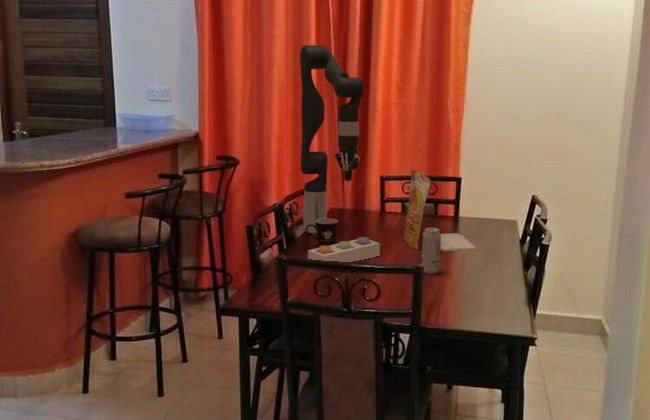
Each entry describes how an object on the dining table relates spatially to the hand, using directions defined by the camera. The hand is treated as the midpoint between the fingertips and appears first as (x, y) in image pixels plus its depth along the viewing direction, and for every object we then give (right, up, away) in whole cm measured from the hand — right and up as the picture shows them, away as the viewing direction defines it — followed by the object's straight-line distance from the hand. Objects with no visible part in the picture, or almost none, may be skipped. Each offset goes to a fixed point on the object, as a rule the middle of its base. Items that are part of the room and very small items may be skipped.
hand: (347, 180), depth 249 cm
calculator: (+41, -25, +17) cm, 51 cm away
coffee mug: (-9, -25, +13) cm, 29 cm away
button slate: (+6, -24, 0) cm, 25 cm away
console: (-1, -29, -5) cm, 29 cm away
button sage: (-1, -26, -5) cm, 26 cm away
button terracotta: (-8, -27, -11) cm, 30 cm away
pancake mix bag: (+27, -24, +16) cm, 39 cm away
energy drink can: (+28, -32, -17) cm, 46 cm away
